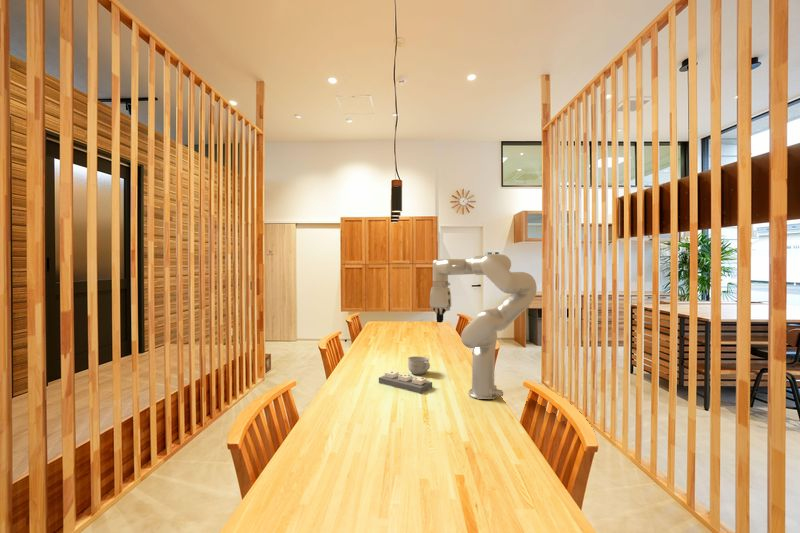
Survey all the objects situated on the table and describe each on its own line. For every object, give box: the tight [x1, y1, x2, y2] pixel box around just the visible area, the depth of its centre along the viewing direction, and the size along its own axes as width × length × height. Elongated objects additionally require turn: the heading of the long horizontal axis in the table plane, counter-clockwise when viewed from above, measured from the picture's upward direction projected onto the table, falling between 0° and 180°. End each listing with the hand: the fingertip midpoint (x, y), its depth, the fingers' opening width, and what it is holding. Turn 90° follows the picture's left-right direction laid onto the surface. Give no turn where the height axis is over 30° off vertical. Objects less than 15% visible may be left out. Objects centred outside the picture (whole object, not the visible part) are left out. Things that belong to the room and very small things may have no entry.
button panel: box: [378, 374, 433, 395], centre depth 175 cm, size 24×10×2 cm, turn 54°
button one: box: [384, 370, 400, 379], centre depth 179 cm, size 5×5×4 cm
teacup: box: [407, 355, 431, 376], centre depth 192 cm, size 14×11×8 cm
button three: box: [398, 373, 413, 382], centre depth 175 cm, size 5×5×4 cm
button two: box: [412, 376, 427, 385], centre depth 170 cm, size 5×5×4 cm
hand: (439, 322), depth 181 cm, fingers closed
